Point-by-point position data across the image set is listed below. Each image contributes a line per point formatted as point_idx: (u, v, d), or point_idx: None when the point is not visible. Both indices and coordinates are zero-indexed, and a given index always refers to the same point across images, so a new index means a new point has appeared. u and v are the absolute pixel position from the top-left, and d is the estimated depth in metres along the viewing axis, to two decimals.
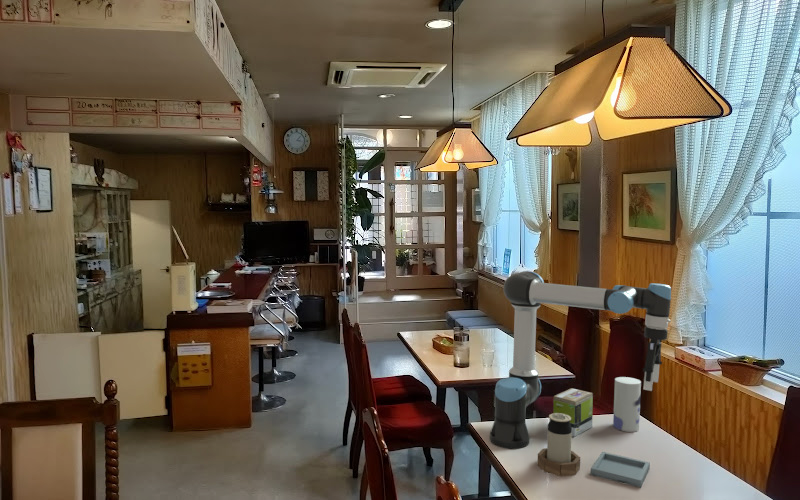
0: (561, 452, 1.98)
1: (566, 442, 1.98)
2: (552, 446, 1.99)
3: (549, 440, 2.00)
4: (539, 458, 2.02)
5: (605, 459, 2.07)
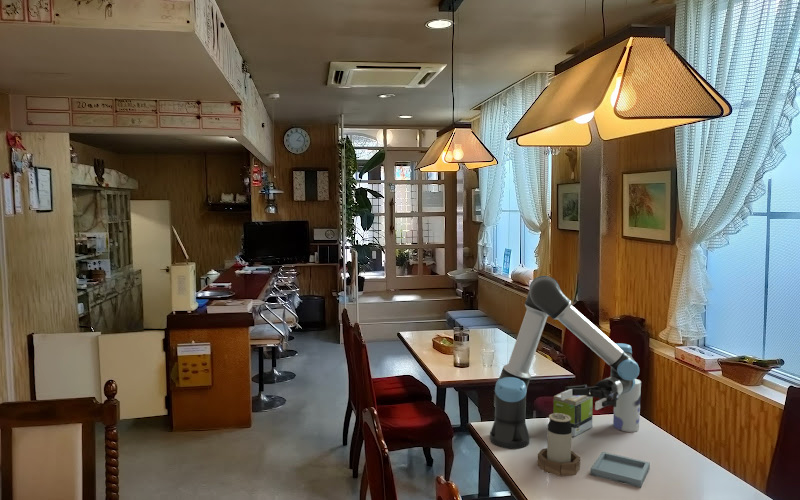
0: (561, 452, 1.98)
1: (566, 442, 1.98)
2: (552, 446, 1.99)
3: (549, 440, 2.00)
4: (539, 458, 2.02)
5: (605, 459, 2.07)
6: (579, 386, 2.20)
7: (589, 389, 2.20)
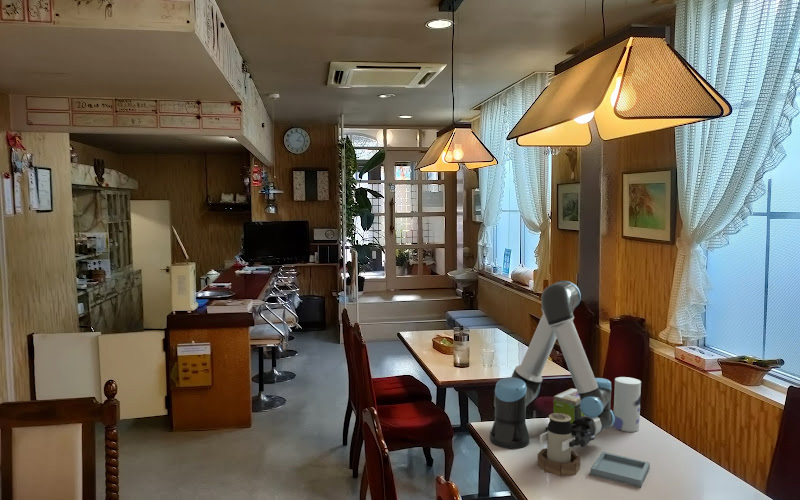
0: (561, 452, 1.98)
1: None
2: (552, 446, 1.99)
3: (549, 440, 2.00)
4: (539, 458, 2.02)
5: (605, 459, 2.07)
6: None
7: None
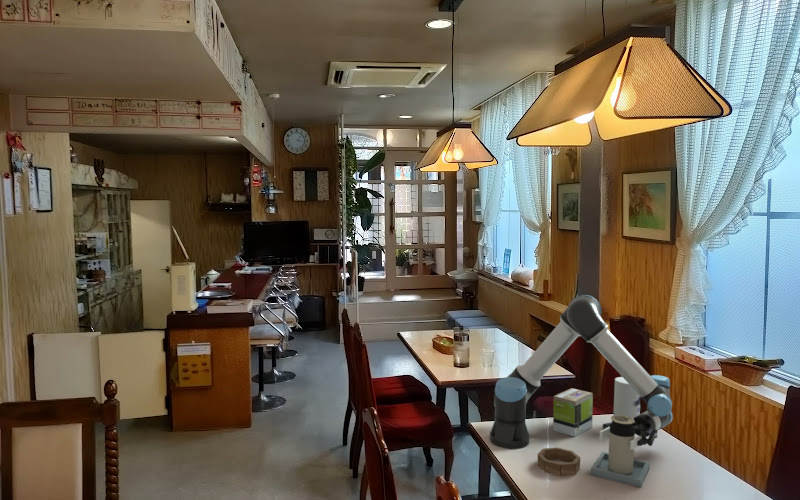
0: (625, 454, 1.94)
1: None
2: (615, 449, 1.95)
3: (612, 442, 1.97)
4: (539, 458, 2.02)
5: (605, 459, 2.07)
6: None
7: None
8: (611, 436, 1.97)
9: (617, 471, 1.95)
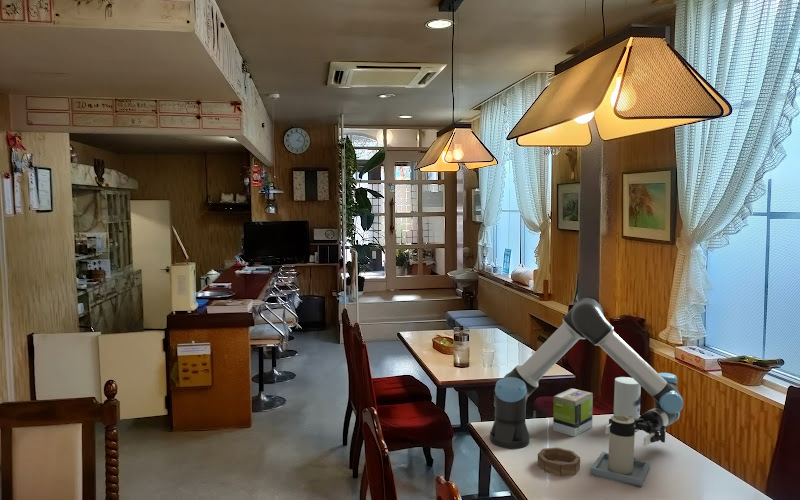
0: (625, 454, 1.94)
1: (630, 444, 1.94)
2: (615, 448, 1.95)
3: (612, 442, 1.97)
4: (539, 458, 2.02)
5: (605, 459, 2.07)
6: None
7: None
8: (611, 436, 1.97)
9: (617, 471, 1.95)
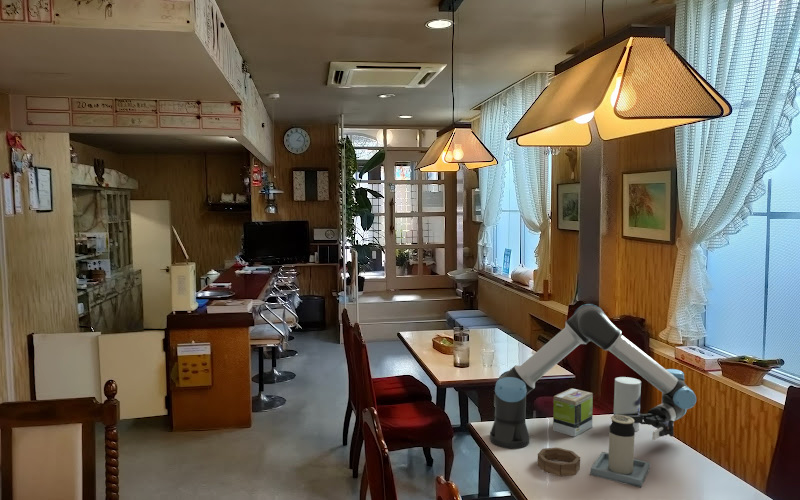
0: (625, 454, 1.94)
1: (630, 444, 1.94)
2: (615, 448, 1.95)
3: (612, 442, 1.97)
4: (539, 458, 2.02)
5: (605, 459, 2.07)
6: (632, 413, 2.17)
7: None
8: (611, 436, 1.97)
9: (617, 471, 1.95)
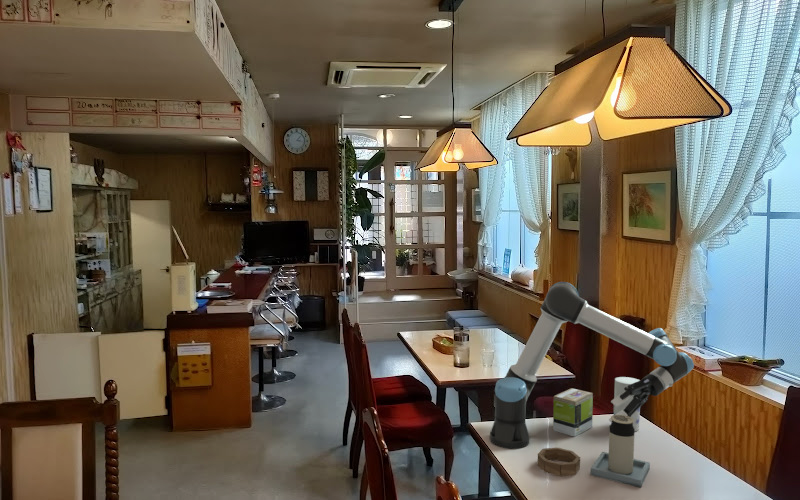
0: (625, 454, 1.94)
1: (630, 444, 1.94)
2: (615, 448, 1.95)
3: (611, 442, 1.97)
4: (539, 458, 2.02)
5: (605, 459, 2.07)
6: None
7: None
8: (611, 436, 1.97)
9: (617, 471, 1.95)
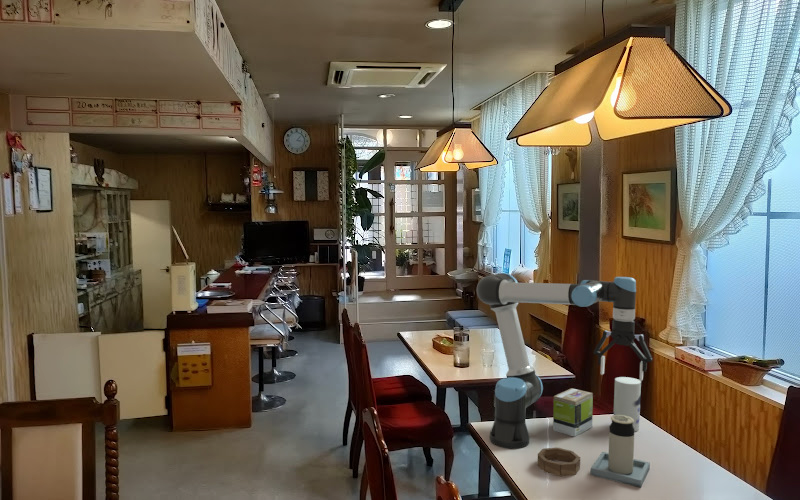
0: (625, 454, 1.94)
1: (630, 444, 1.94)
2: (615, 449, 1.95)
3: (611, 442, 1.97)
4: (539, 458, 2.02)
5: (605, 459, 2.07)
6: None
7: (635, 337, 2.09)
8: (611, 436, 1.97)
9: (617, 471, 1.95)
